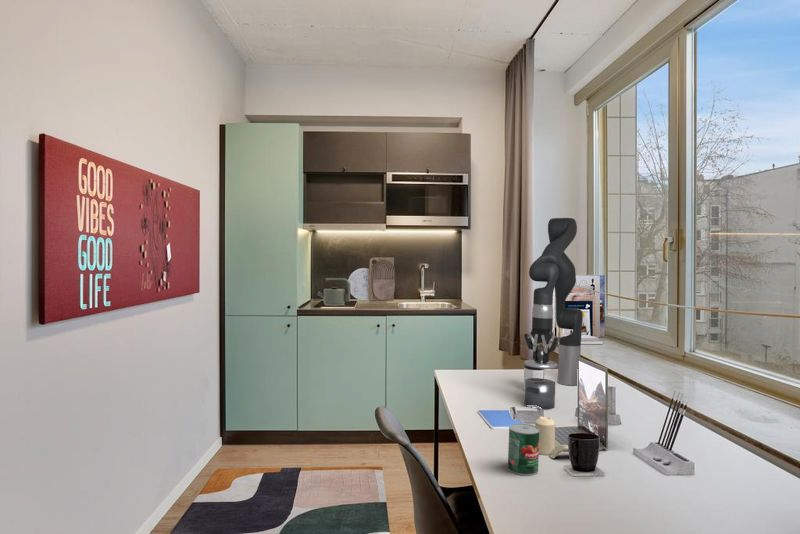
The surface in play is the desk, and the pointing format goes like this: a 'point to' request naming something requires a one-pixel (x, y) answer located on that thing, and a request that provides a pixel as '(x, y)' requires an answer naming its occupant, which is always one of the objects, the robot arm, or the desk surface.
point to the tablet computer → (498, 418)
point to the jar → (532, 373)
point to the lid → (541, 361)
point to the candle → (546, 434)
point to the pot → (540, 393)
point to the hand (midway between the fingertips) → (540, 361)
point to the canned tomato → (523, 449)
